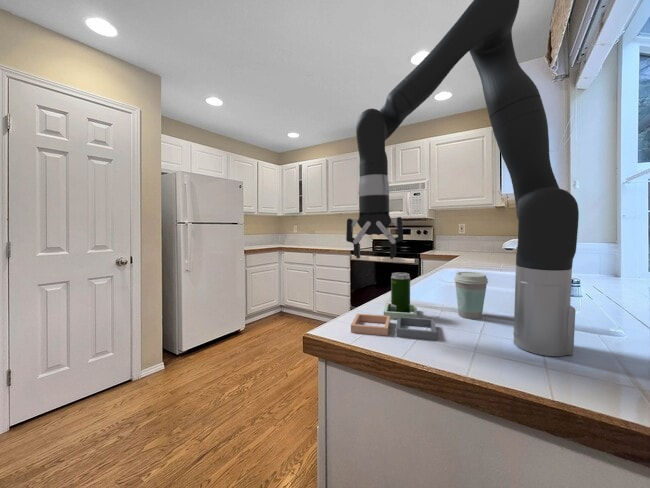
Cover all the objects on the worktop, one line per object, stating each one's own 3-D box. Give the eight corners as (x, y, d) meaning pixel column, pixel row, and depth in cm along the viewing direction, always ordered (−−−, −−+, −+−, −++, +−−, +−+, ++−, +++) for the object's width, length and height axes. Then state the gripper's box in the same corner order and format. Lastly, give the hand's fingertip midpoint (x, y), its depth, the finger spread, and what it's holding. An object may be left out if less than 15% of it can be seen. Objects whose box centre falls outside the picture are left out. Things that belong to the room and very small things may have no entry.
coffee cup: (456, 309, 86) (457, 270, 85) (488, 314, 81) (489, 273, 80) (450, 317, 79) (451, 275, 78) (485, 323, 74) (486, 278, 73)
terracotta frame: (390, 322, 76) (390, 316, 76) (387, 335, 67) (387, 328, 67) (357, 319, 78) (357, 313, 78) (350, 332, 70) (350, 325, 70)
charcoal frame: (433, 325, 73) (433, 319, 72) (436, 340, 64) (436, 332, 64) (397, 323, 75) (397, 316, 75) (396, 336, 67) (396, 329, 66)
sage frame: (416, 310, 85) (416, 304, 85) (417, 320, 77) (417, 314, 76) (386, 308, 88) (386, 302, 88) (383, 318, 79) (383, 311, 79)
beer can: (401, 318, 78) (401, 276, 78) (387, 313, 83) (387, 273, 82) (414, 314, 81) (414, 274, 80) (399, 310, 86) (399, 271, 85)
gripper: (403, 194, 72) (403, 256, 74) (349, 197, 76) (350, 256, 78) (402, 191, 65) (403, 260, 67) (343, 195, 69) (344, 260, 70)
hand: (374, 258), depth 72 cm, fingers open, 8 cm apart
